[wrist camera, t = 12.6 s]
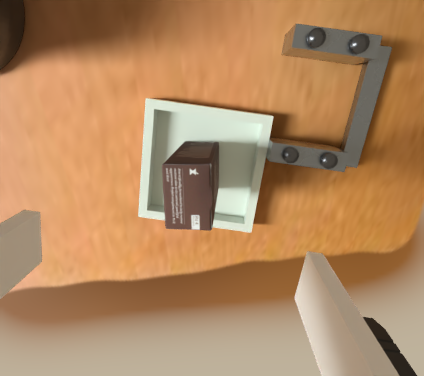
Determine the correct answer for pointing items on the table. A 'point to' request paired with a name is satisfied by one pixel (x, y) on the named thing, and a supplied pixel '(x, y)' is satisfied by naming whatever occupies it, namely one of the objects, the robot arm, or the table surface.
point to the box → (191, 185)
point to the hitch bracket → (363, 100)
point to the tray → (228, 156)
